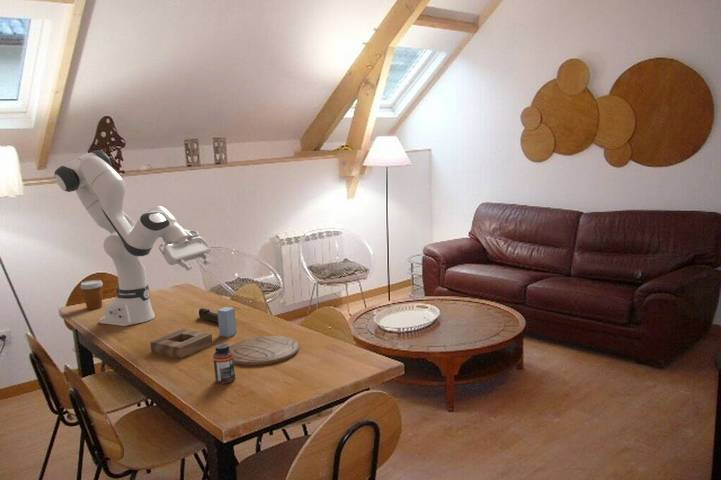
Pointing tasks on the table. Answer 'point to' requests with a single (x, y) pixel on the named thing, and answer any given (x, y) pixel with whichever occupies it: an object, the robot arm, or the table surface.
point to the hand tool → (208, 315)
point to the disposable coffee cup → (92, 293)
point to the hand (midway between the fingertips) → (199, 266)
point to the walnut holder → (181, 343)
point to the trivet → (263, 350)
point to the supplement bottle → (223, 364)
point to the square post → (226, 321)
